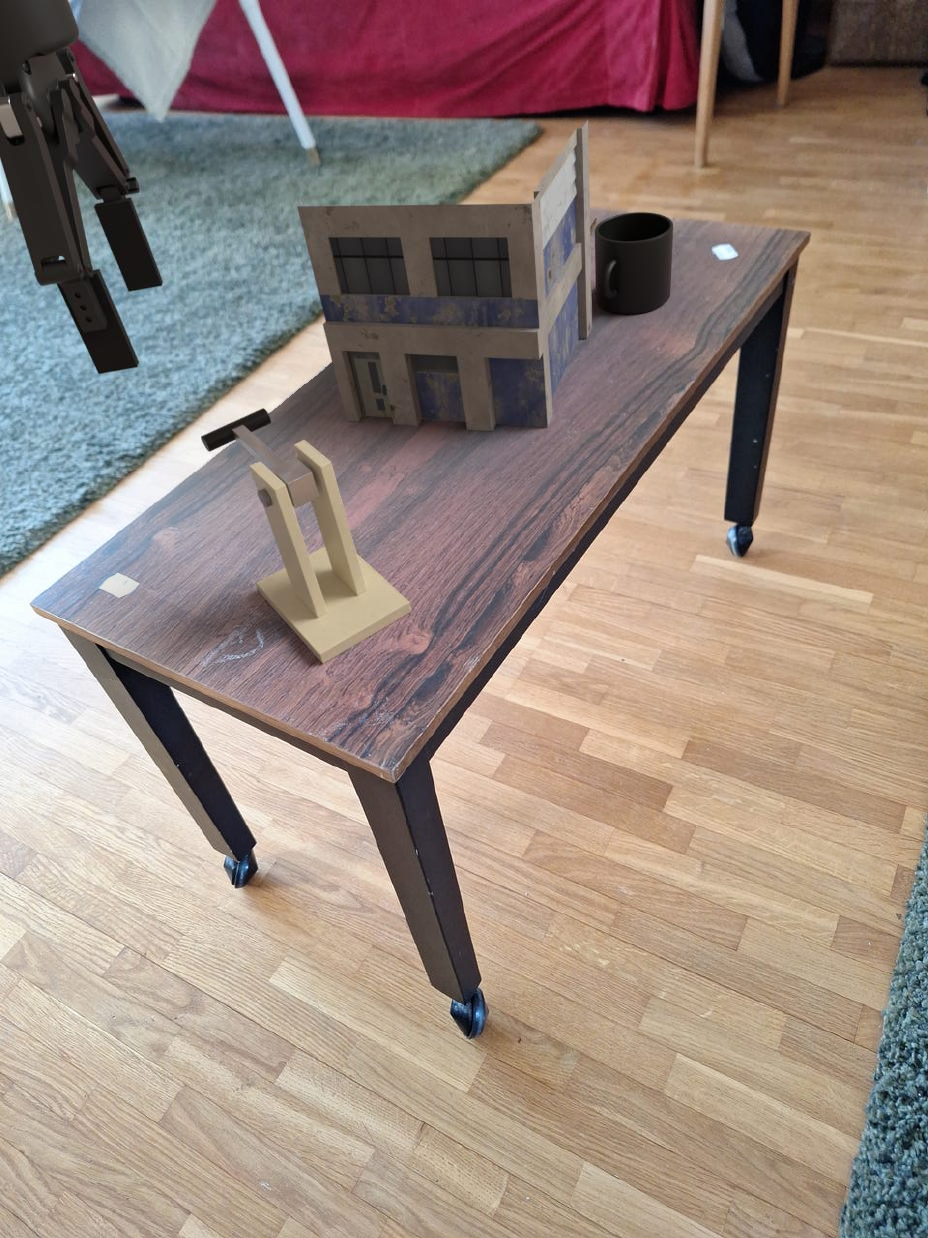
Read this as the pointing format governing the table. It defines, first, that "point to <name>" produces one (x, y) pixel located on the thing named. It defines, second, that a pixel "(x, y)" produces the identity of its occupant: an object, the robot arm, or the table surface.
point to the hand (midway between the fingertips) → (133, 324)
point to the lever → (266, 455)
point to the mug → (633, 262)
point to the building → (457, 300)
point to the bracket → (323, 567)
